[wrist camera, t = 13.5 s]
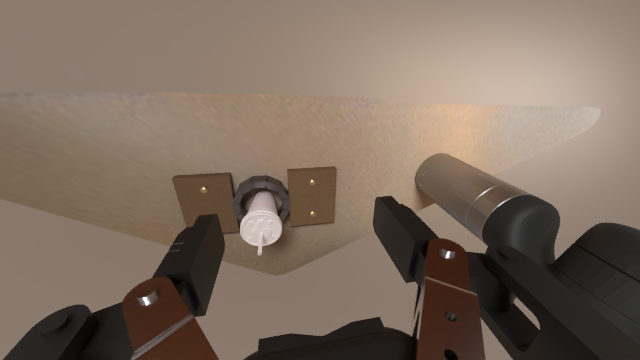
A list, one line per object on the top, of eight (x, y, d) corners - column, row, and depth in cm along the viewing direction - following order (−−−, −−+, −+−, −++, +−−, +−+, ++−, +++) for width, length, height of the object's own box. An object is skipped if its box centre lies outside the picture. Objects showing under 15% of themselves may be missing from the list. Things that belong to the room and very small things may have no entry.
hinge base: (334, 166, 43) (338, 171, 41) (332, 218, 48) (335, 225, 46) (174, 175, 38) (168, 182, 36) (191, 232, 44) (186, 240, 41)
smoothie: (248, 214, 44) (237, 270, 32) (245, 184, 41) (231, 233, 29) (281, 212, 45) (283, 265, 33) (280, 183, 42) (282, 230, 30)
